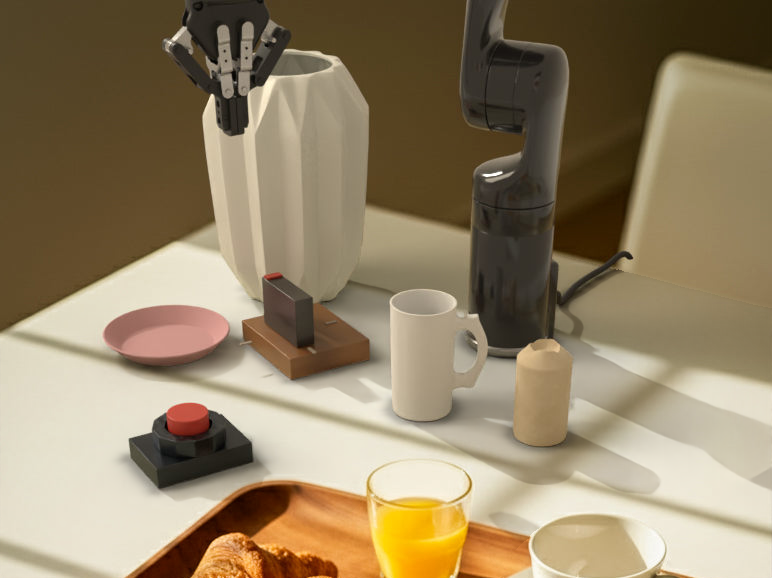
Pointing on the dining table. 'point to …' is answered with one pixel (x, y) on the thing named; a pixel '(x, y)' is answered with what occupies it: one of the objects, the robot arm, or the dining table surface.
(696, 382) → the dining table surface
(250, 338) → the oak panel
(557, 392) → the candle
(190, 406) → the button
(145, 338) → the plate
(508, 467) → the dining table surface
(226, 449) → the button block
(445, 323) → the mug
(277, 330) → the bar knob
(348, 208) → the vase
